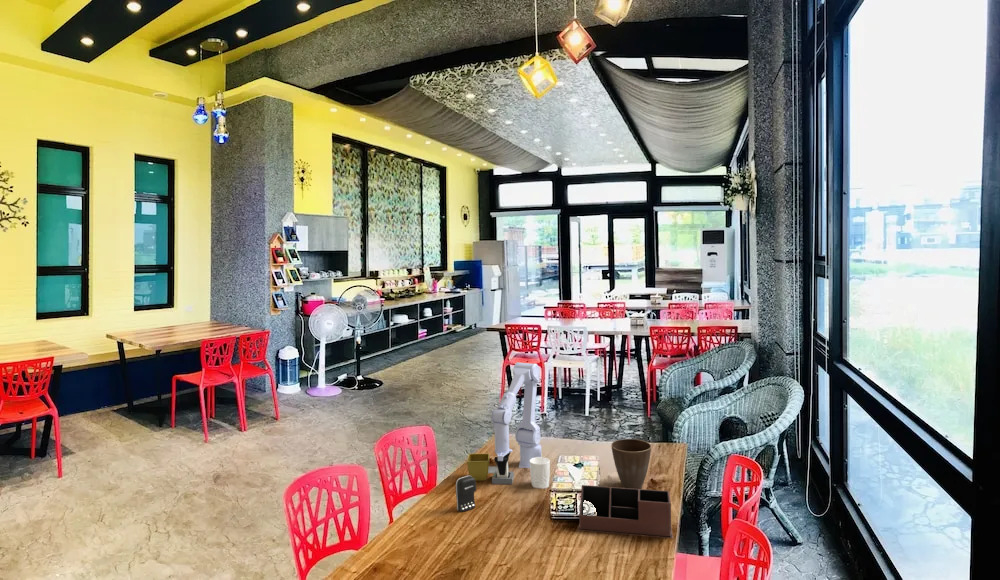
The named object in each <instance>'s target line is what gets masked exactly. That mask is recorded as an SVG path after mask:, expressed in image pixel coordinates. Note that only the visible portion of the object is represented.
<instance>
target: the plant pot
mask: <svg viewBox="0 0 1000 580" xmlns="http://www.w3.org/2000/svg"><path fill="white" fill-rule="evenodd" d="M610 446H611V452H612V456H613V457H612V458H613V462H614V467H615V470H616V473H617V475H618V478H619V481H620V483H621V485H622V488H632V489H643V485H644V483H645V480H646V477H647V474H648V469H649V464H650V460H651V452H652V444H650V442H648V441H645V440H641V439H634V438H627V439H626V438H624V439H618V440H615V441H613V442H611V445H610Z"/></svg>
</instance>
